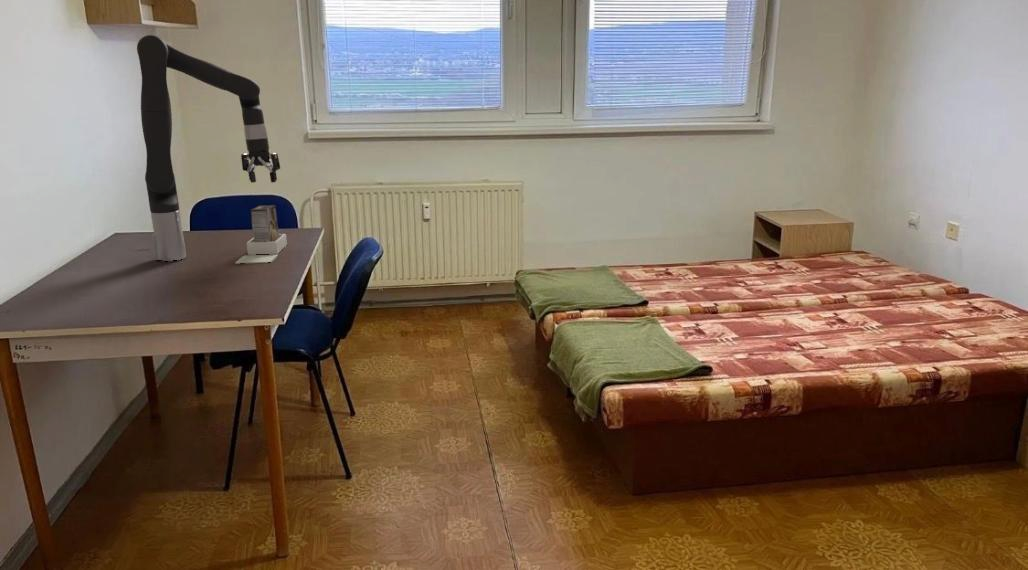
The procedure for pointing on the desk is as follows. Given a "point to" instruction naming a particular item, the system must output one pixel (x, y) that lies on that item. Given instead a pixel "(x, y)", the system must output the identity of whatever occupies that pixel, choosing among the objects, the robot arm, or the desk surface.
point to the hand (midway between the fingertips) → (263, 182)
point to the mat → (256, 259)
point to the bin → (267, 246)
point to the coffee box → (264, 223)
